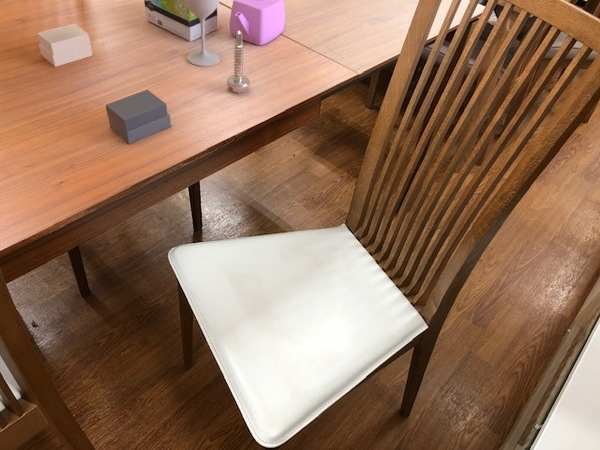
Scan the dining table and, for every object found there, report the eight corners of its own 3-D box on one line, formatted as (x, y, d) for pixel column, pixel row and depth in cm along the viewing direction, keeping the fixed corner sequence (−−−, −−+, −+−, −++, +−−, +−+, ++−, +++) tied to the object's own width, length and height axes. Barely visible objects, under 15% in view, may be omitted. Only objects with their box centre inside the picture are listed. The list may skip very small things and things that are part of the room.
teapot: (254, 54, 118) (255, 10, 111) (217, 39, 121) (216, -4, 114) (292, 28, 130) (296, -13, 122) (258, 15, 133) (260, -25, 125)
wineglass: (186, 66, 111) (180, -35, 96) (186, 50, 116) (180, -49, 101) (221, 67, 112) (220, -33, 97) (219, 50, 118) (218, -47, 103)
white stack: (55, 66, 106) (49, 44, 102) (41, 55, 108) (35, 32, 105) (92, 55, 110) (88, 33, 107) (78, 44, 113) (73, 22, 109)
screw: (231, 81, 109) (252, 86, 108) (223, 93, 105) (245, 98, 105) (231, 22, 99) (254, 27, 99) (222, 32, 96) (247, 38, 95)
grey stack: (129, 144, 91) (124, 120, 87) (110, 127, 93) (105, 104, 90) (171, 126, 95) (168, 103, 92) (152, 111, 98) (149, 88, 95)
